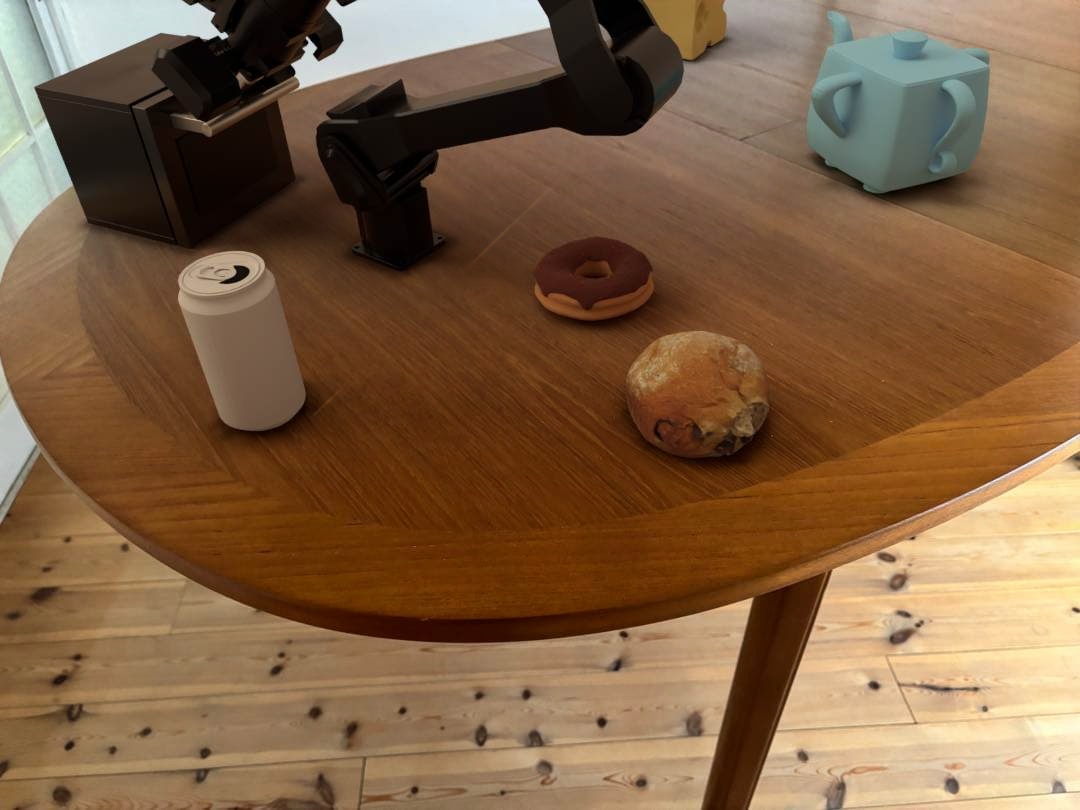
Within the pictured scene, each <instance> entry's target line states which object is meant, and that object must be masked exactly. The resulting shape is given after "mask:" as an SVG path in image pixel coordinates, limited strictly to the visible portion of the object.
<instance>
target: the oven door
mask: <svg viewBox="0 0 1080 810" xmlns="http://www.w3.org/2000/svg"><path fill="white" fill-rule="evenodd" d="M300 85H301V84H300V80H299V79H298V78H297V77H296V75H295V76H294V77H292V78H290V79H288V80H286V81H284V82H283V83H281V84H279V85H277V86H275V87H273V88H271V89H269V90H267V91H266V92H264V93H262V94H261V95H259V96H257V97H255V98H253V99H251V100H250V101H247V102H244V103H241V104H239V105H237V106H234V107H232V108H230V109H229V110H228V111H227V112H225V113H223V114H221V115H219V116H218V117H216V118H214V119H212V120H210V121H208V122H207V123H206V122H203V121H199V120H197V119H196V118H195V117H194V116H193V115H192V114H191V113H190V112H189V111H188V110H187V109H186V107H185V106H184V105H183V104H182V103H181V102H180V101H179V100H178V99H177V98H176V97H175V95H174V94H173V93H172V92H171V91H170V90H169V89H167V90H165V91H163V92H161V93H159V94H157V95H155V96H153V97H151V98H149V99H147V100H145V101H143V102H141V103H139V104H137V105H135V106H132V108H133V111H134V114H135V117H136V120H137V123H138V126H139V129H140V132H141V135H142V138H143V141H144V144H145V147H146V150H147V153H148V156H149V159H150V162H151V165H152V168H153V171H154V174H155V177H156V180H157V183H158V186H159V189H160V192H161V195H162V198H163V201H164V204H165V207H166V210H167V213H168V216H169V219H170V222H171V225H172V228H173V231H174V234H175V237H176V240H177V243H178V245H177V246H179V247H183V248H187V249H192V248H193V247H195V246H197V245H198V244H200V243H201V242H203V241H205V239H207V238H209V237H210V236H212V235H214V233H215V234H216V232H218V231H219V230H221V229H222V228H224V227H226V226H227V225H228V224H230V223H231V222H233V221H235V220H236V219H237V218H239V217H241V216H242V215H243V214H245V213H247V212H248V211H250V210H251V209H252V208H254V207H255V206H257V205H259V204H260V203H262V202H263V201H265V200H266V199H268V198H269V197H270V196H272V195H274V194H275V193H277V192H278V191H280V190H281V189H282V188H284V187H285V186H287V185H289V184H290V183H292V182H293V181H294V180H296V174H295V170H294V166H293V162H292V156H291V152H290V148H289V144H288V143H289V142H288V139H287V135H286V131H285V126H284V122H283V121H284V120H283V117H282V113H281V109H280V105H279V101H278V100H279V99H281V98H283V97H284V96H286V95H288V94H290V93H292V92H294V91H295V90H297V89H299V88H300Z"/></svg>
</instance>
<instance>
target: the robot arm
mask: <svg viewBox="0 0 1080 810" xmlns="http://www.w3.org/2000/svg"><path fill="white" fill-rule="evenodd" d="M181 1H182V2H184V3H185V4H186V5H188V6H195V5H196V4H198V5H200V6H202V7H204V8H205V9H207V10H208V11H210V12H212V13H213V16H212V17H211V19H210V24H212V26H213V27H214V28H215V29H216V30H217V31H218V32H219V33H220V34H224V33H225V34H226V35H227V36H226V37H224V38H222V37H220V36H219V35H215V36H213V37H211V38H209V39H208V40H207V41H205V42H204V41H203V40H202V39H203V38H202V37H201V36H198V35H191V34H187V35H183V36H184V37H182V38H179V39H177V40H175V41H173V42H170V43H168V44H166V45H164V46H161V47H159V48H158V49H157V51H156V53H155V55H154V57H153V59H152V61H151V70H152V72H153V73H154V74H155V75H156V76H157V77H158V78H159V79H160V80H161V81H162V82H163V84H164V85H165V86H166V87H167V88H168V89H169V90H170V91H171V92H172V93H173V94H174V95H175V97H176V98H177V99H178V100H179V101H180V102H181V103H182V104H183V105H184V106H185V107H186V109H187V110H188V111H189V112H190V113H191V114H192V115H193V116H194V117H195V118H196V119H197V120H199V121H203V122H206V123H207V122H208V121H210V120H212V119H214V118H216V117H218V116H219V115H221V114H223V113H225V112H227V111H228V110H229V109H230V108H232V107H234V106H237V105H239V104H241V103H244V102H247V101H250V100H251V99H253V98H255V97H257V96H259V95H261V94H262V93H264V92H266V91H267V90H269V89H271V88H273V87H275V86H277V85H279V84H281V83H283V82H284V81H286V80H288V79H290V78H292V77H294V76H295V77H296V73H297V72H296V70H295V67H294V66H293V65H292V64H294V63H297V62H298V61H300V60H302V59H303V57H304V55H305V54H306V50H305V49H304V48H305V47H307V46H308V45H309V44H310V43H309V41H310V42H311V43H312V44H313V46H315V47H316V49H314V51H313V53H312V56H313V57H314V59H316V61H317V62H318V63H319V62H321V61H323V60H324V59H325V60H326V59H327V58H328V57H330V56H332V55H334V54H336V52H337V51H338V49H339V48H340V47H341V45H342V44H343V43H344V34H343V28H342V25H341V24H340V23H339V22H338V21H337V20H336V18H335V17H334V16H333V15H332V14H331V12H330V11H329V10H328V9H327V7H328V6H329V4H330V3H331V1H332V0H181ZM357 1H358V0H335V2H336V3H337V4H338V5H339V6H340V7H342V8H344V7H347V6H349V5H352V4H353V3H355V2H357ZM537 2H538V4H539V5H540V7H541V9H542V11H543V13H544V14H545V15H546V17H547V20H548V23H549V27H550V31H551V35H552V38H553V42H554V45H555V49H556V52H557V57H558V60H559V63H560V64H559V65H556V66H552V67H547V68H544V69H540V70H535V71H531V72H527V73H523V74H518V75H513V76H510V77H506V78H501V79H496V80H492V81H488V82H484V83H480V84H475V85H471V86H467V87H463V88H459V89H455V90H451V91H446V92H442V93H438V94H433V95H429V96H424V97H415V96H414V95H410V94H408V93H406V88H405V85H404V80H403V79H402V78H398V79H397V80H395V81H393V82H391V83H388V84H386V85H375V84H369V85H368V86H366V87H365V88H363V89H361V90H360V91H358V92H356V93H355V94H353V95H352V96H350V97H348V98H346V99H345V100H343V101H342V102H340V103H338V104H337V105H335V106H333V107H332V108H330V109H329V110H327V111H326V112H325V115H326V116H327V117H328V118H326V119H325V120H324V121H322V122H321V123H319V124H318V125H317V126H316V129H315V130H316V134H315V147H316V149H317V155H318V158H319V160H320V162H321V164H322V166H323V169H324V170H325V173H326V175H327V176H328V179H329V180H330V183H331V185H332V187H333V189H334V191H335V193H336V195H337V197H338V199H339V201H340V202H341V204H344V205H348V206H351V207H352V208H354V211H355V213H356V218H357V219H356V220H357V224H358V229H359V235H360V238H362V240H361V241H359V242H357V243H355V244H353V245H352V246H351V253H352V254H353V255H356V256H359V257H362V258H364V259H366V260H369V261H371V262H374V263H377V264H380V265H382V266H385V267H386V268H390V269H393V270H395V271H403V270H405V269H407V268H409V267H411V266H412V265H414V264H415V263H416V262H418V261H420V260H421V259H422V258H424V257H426V256H427V255H429V254H430V253H432V252H434V251H435V250H437V249H438V248H439V247H441V246H443V245H444V244H446V243H447V239H446V236H445V235H442V234H439V233H436V232H433V226H432V217H431V210H430V203H429V195H428V190H427V187H425V186H422V181H424V180H425V179H426V178H428V177H429V176H430V175H433V174H434V173H435V172H436V171H437V167H438V162H439V157H440V154H439V152H438V151H440V150H444V149H450V148H454V147H460V146H465V145H469V144H476V143H480V142H485V141H490V140H491V141H492V140H496V139H501V138H506V137H512V136H517V135H521V134H528V133H532V132H538V131H543V130H547V129H553V128H554V129H556V128H557V129H562V130H566V131H568V132H571V133H574V134H577V135H580V136H583V137H625V136H629V135H632V134H634V133H636V132H638V131H640V130H641V129H642V128H643V127H644V126H645V125H646V124H648V122H649V121H650V120H651V119H652V118H654V116H655V115H656V114H657V113H658V112H659V111H660V110H661V108H662V107H664V106H665V105H666V104H667V103H668V102H669V101H670V100H671V98H673V96H675V94H676V93H677V91H678V90H679V88H680V86H681V85H682V82H683V78H684V73H685V67H684V66H685V65H684V59H683V58H682V55H681V53H680V50H679V48H678V46H677V45H676V43H675V42H674V41H673V40H672V38H671V37H670V36H668V35H667V34H665V33H664V32H663V31H661V29H660V27H659V26H658V24H657V22H656V20H655V19H654V17H653V15H652V13H651V12H650V10H649V8H648V6H647V5H646V3H645V2H644V1H643V0H537ZM601 27H602V28H603V29H604V30H606V32H607V34H608V36H609V37H610V38H609V39H606V40H605V39H604V36H603V34H602V30H601ZM307 38H308V39H309V41H308V39H307Z"/></svg>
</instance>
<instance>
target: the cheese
mask: <svg viewBox="0 0 1080 810" xmlns="http://www.w3.org/2000/svg"><path fill="white" fill-rule="evenodd" d="M643 1H644V2H645V3H646V5H647V6H648V8H649V10H650V12H651V13H652V15H653V17H654V19H655V20H656V22H657V24H658V26H659V27H660V29H661V31H663V32H664V33H665V34H667V35H668V36H670V37H671V38H672V40H673V41H674V42H675V43H676V45H677V46H678V48H679V50H680V53H681V55H682V58H683V60H688V61H694V60H695V59H697V58H698V57H699V56H700V55H702V54H703V53H704V52H705V51H706V48H707V47H708V46H711V47H712V46H714V45H715V44H717V43H719V42H721V41H722V40H723V39H724V38H725V35H726V31H727V25H728V19H727V18H728V16H727V13H726V11H725V9H724V4H725V2H726V0H643Z"/></svg>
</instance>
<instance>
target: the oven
mask: <svg viewBox="0 0 1080 810" xmlns="http://www.w3.org/2000/svg"><path fill="white" fill-rule="evenodd" d="M184 36H185V35H180V34H173V33H165V32H159V33H157V34H154V35H153V36H150V37H148V38H145V39H143V40H141V41H138V42H135V43H133V44H131V45H129V46H126V47H125V48H122V49H119V50H117V51H115V52H113V53H110V54H108V55H105V56H103V57H101V58H99V59H96V60H94V61H91V62H89V63H86V64H84V65H81V66H79V67H77V68H74V69H73V70H71V71H68V72H65V73H63V74H61V75H58V76H56V77H54V78H51V79H48V80H47V81H44V82H42V83H40V84H37V85H35V86H33V88H34V91H35V93H36V96H37V99H38V101H39V104H40V106H41V109H42V111H43V114H44V116H45V119H46V121H47V124H48V126H49V129H50V131H51V133H52V136H53V139H54V142H55V144H56V146H57V148H58V151H59V154H60V156H61V159H62V161H63V164H64V166H65V169H66V171H67V174H68V176H69V179H70V181H71V184H72V186H73V189H74V192H75V193H76V196H77V198H78V201H79V203H80V206H81V209H82V211H83V214H84V216H85V219H86V222H87V224H90V225H94V226H98V227H102V228H106V229H110V230H114V231H117V232H121V233H126V234H129V235H133V236H136V237H141V238H144V239H148V240H152V241H153V240H154V241H156V242H159V243H164V244H167V245H172V246H179V245H178V243H177V240H176V237H175V234H174V231H173V228H172V225H171V222H170V219H169V216H168V213H167V210H166V207H165V204H164V201H163V198H162V195H161V192H160V189H159V186H158V183H157V180H156V177H155V174H154V171H153V168H152V165H151V162H150V159H149V156H148V153H147V150H146V147H145V144H144V141H143V138H142V135H141V132H140V129H139V126H138V123H137V120H136V117H135V114H134V111H133V108H132V106H135V105H137V104H139V103H141V102H143V101H145V100H147V99H149V98H151V97H153V96H155V95H157V94H159V93H161V92H163V91H165V90H167V89H168V88H167V87H166V86H165V85H164V84H163V82H162V81H161V80H160V79H159V78H158V77H157V76H156V75H155V74H154V73H153V72H152V70H151V61H152V59H153V57H154V55H155V53H156V51H157V49H158V48H159V47H161V46H164V45H166V44H168V43H170V42H173V41H175V40H177V39H179V38H182V37H184ZM201 39H202V40H203V41H204V42H205V41H207V40H209V39H208V38H207V39H206V38H201Z"/></svg>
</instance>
